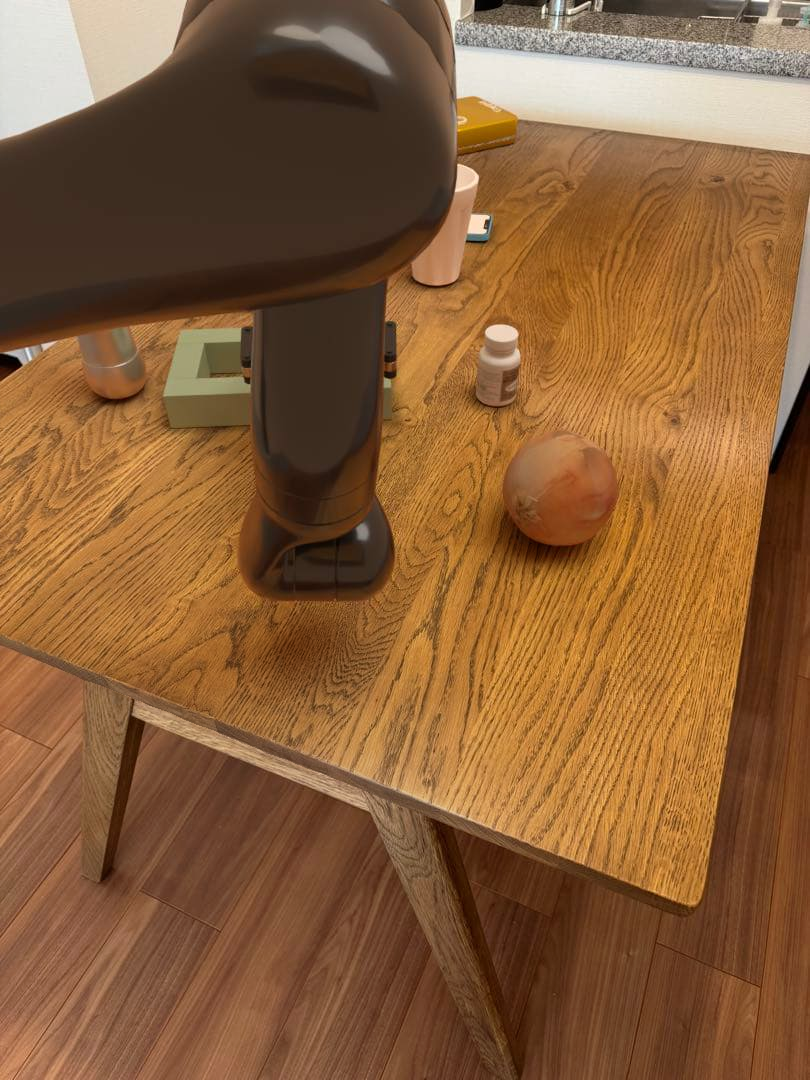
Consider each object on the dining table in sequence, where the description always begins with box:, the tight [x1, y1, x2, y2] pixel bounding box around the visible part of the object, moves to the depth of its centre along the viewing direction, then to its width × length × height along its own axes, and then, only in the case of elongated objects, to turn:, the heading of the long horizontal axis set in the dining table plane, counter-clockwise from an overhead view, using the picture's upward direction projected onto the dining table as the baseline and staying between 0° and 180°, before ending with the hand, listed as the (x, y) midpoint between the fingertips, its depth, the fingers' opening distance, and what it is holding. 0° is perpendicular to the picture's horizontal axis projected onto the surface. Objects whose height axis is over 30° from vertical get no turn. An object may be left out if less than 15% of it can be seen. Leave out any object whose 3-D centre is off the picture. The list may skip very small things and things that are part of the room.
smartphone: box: [466, 212, 494, 242], centre depth 115 cm, size 8×1×15 cm
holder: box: [162, 327, 393, 429], centre depth 85 cm, size 13×23×4 cm, turn 94°
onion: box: [502, 428, 619, 547], centre depth 67 cm, size 10×10×10 cm
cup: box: [411, 163, 480, 286], centre depth 100 cm, size 10×10×13 cm
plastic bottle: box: [76, 326, 148, 400], centre depth 79 cm, size 6×7×20 cm
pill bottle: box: [475, 323, 522, 407], centre depth 82 cm, size 4×4×8 cm
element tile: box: [457, 95, 519, 156], centre depth 141 cm, size 15×15×5 cm
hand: (320, 311), depth 76 cm, fingers open, 8 cm apart
